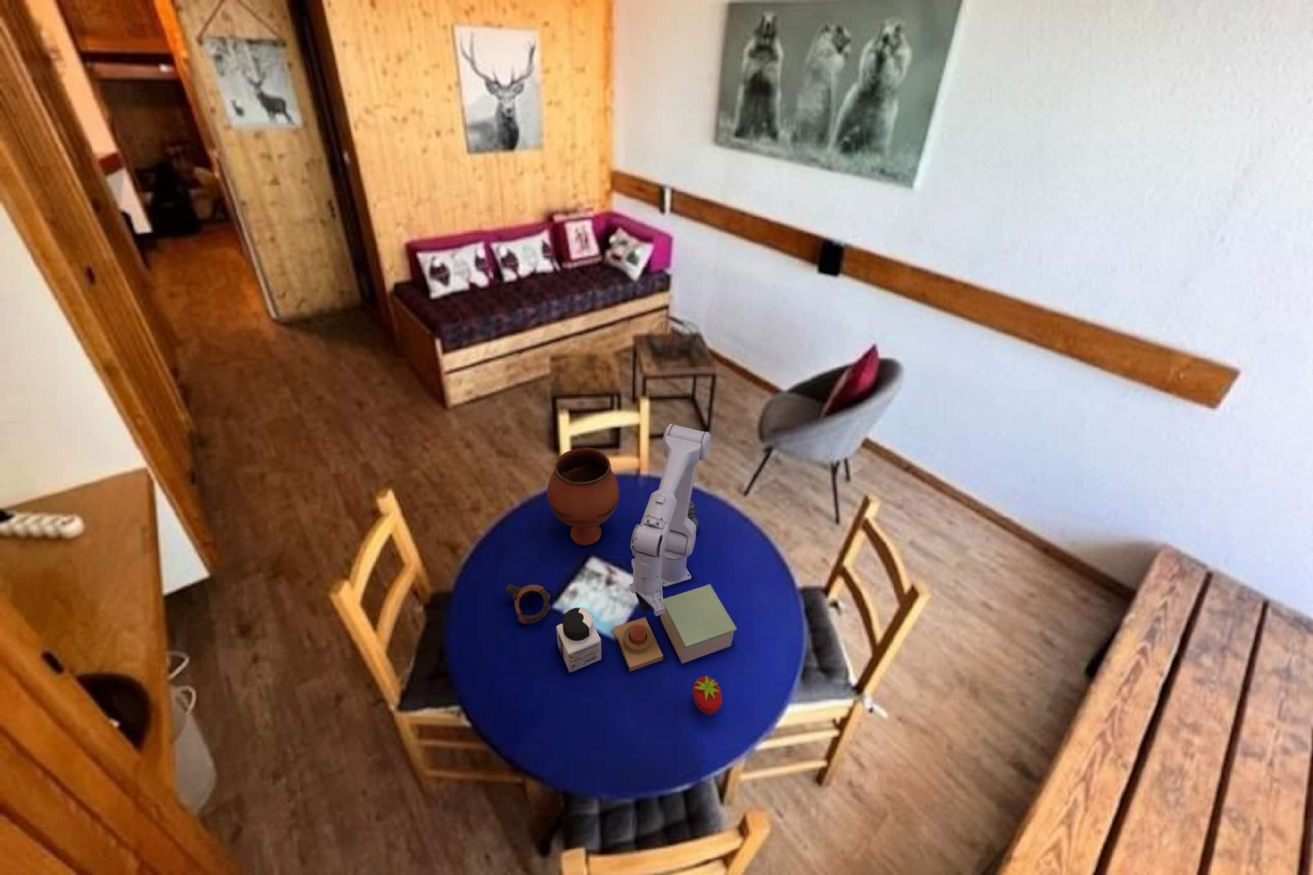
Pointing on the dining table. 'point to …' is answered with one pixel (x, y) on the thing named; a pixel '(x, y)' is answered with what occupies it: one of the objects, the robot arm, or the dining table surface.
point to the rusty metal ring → (526, 590)
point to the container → (578, 639)
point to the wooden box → (698, 649)
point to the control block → (637, 645)
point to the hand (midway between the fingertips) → (646, 608)
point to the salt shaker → (692, 513)
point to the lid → (698, 616)
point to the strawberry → (707, 695)
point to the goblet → (583, 492)
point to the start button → (637, 635)
